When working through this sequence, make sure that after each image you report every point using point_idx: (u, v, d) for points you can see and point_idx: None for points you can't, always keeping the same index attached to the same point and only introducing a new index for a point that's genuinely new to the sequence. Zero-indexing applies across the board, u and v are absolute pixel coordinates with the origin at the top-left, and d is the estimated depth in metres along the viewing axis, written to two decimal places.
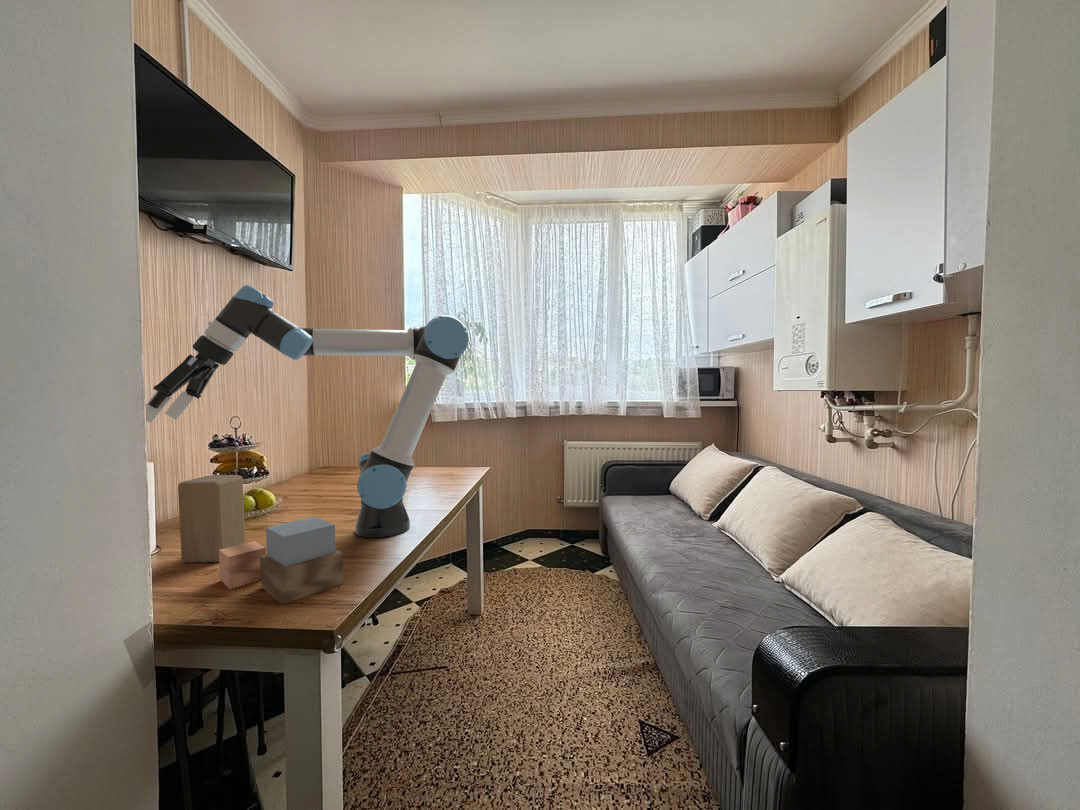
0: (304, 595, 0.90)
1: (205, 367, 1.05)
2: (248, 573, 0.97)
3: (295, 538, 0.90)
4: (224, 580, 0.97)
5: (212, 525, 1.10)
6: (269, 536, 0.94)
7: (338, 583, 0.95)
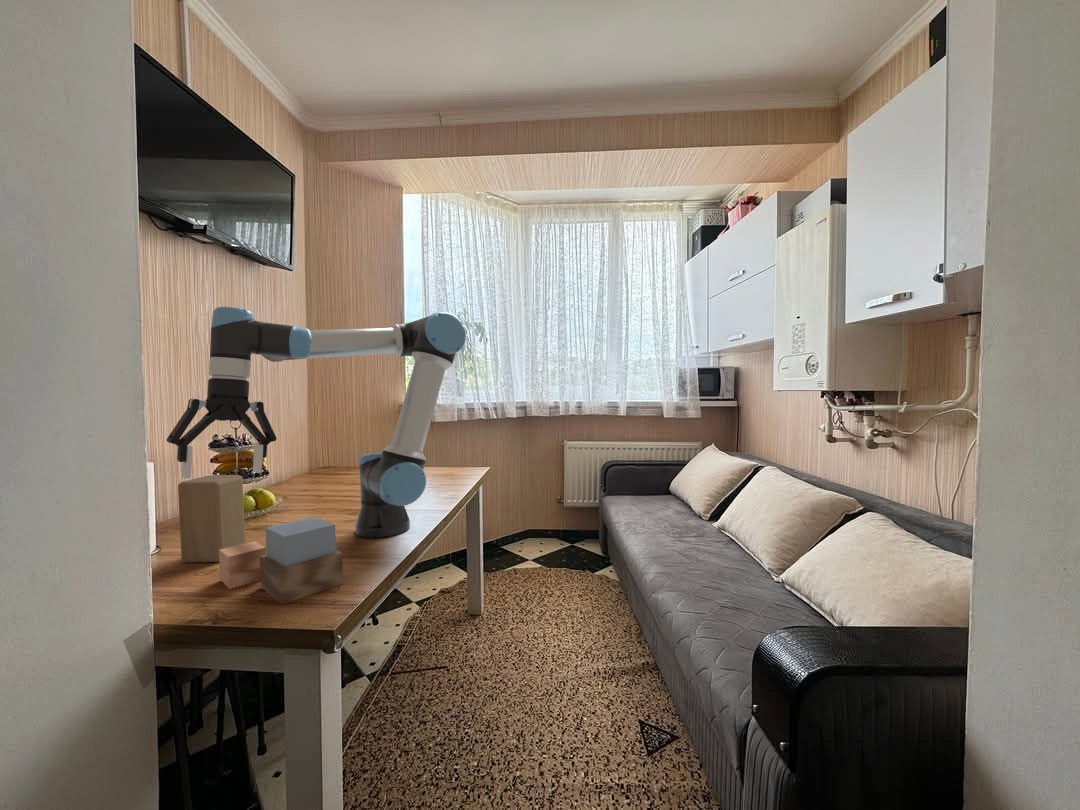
0: (304, 595, 0.90)
1: (221, 406, 0.97)
2: (248, 573, 0.97)
3: (296, 538, 0.90)
4: (224, 580, 0.97)
5: (212, 525, 1.10)
6: (269, 537, 0.94)
7: (338, 583, 0.95)
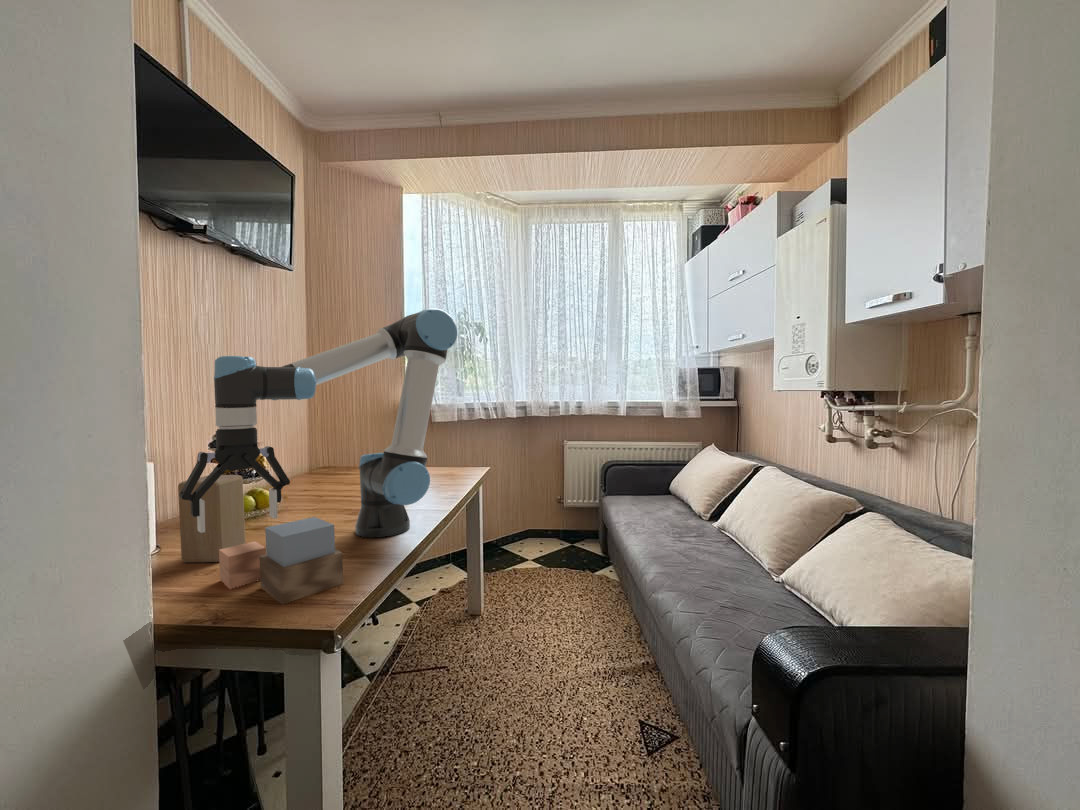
0: (304, 595, 0.90)
1: (229, 456, 0.96)
2: (248, 573, 0.97)
3: (295, 539, 0.90)
4: (224, 580, 0.97)
5: (212, 525, 1.10)
6: (268, 537, 0.94)
7: (338, 583, 0.95)
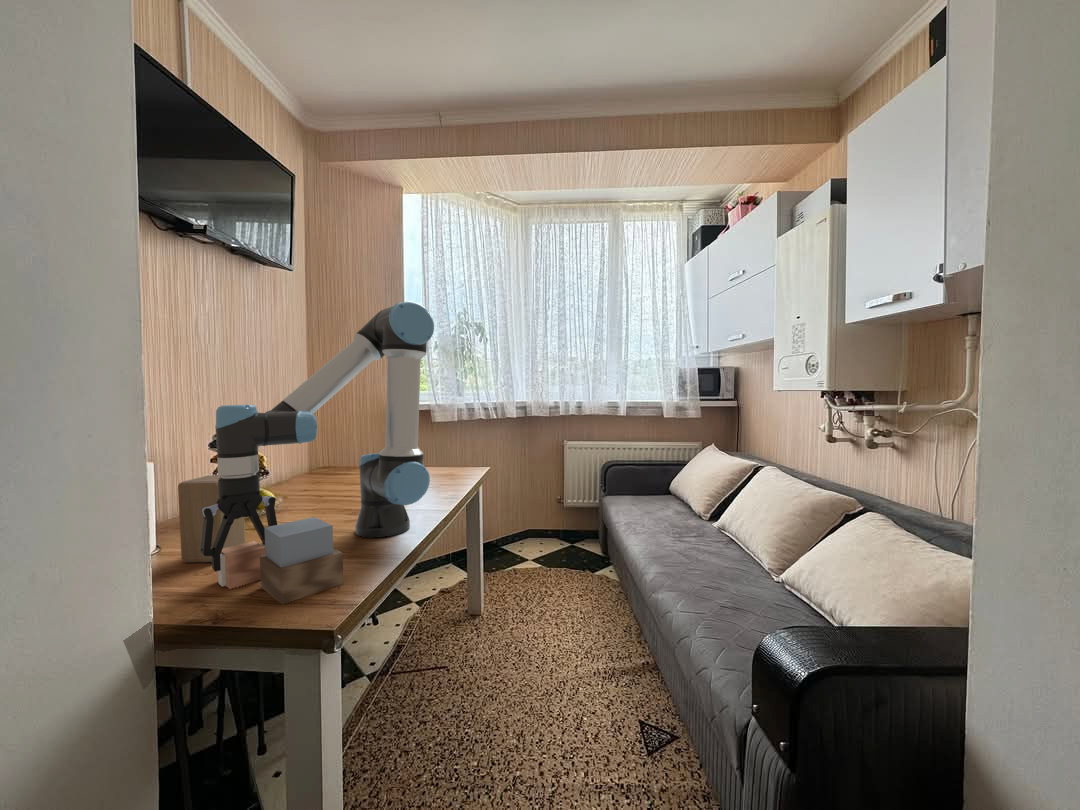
0: (304, 595, 0.90)
1: (232, 506, 0.97)
2: (247, 572, 0.97)
3: (292, 539, 0.90)
4: None
5: None
6: (267, 537, 0.94)
7: (338, 583, 0.95)
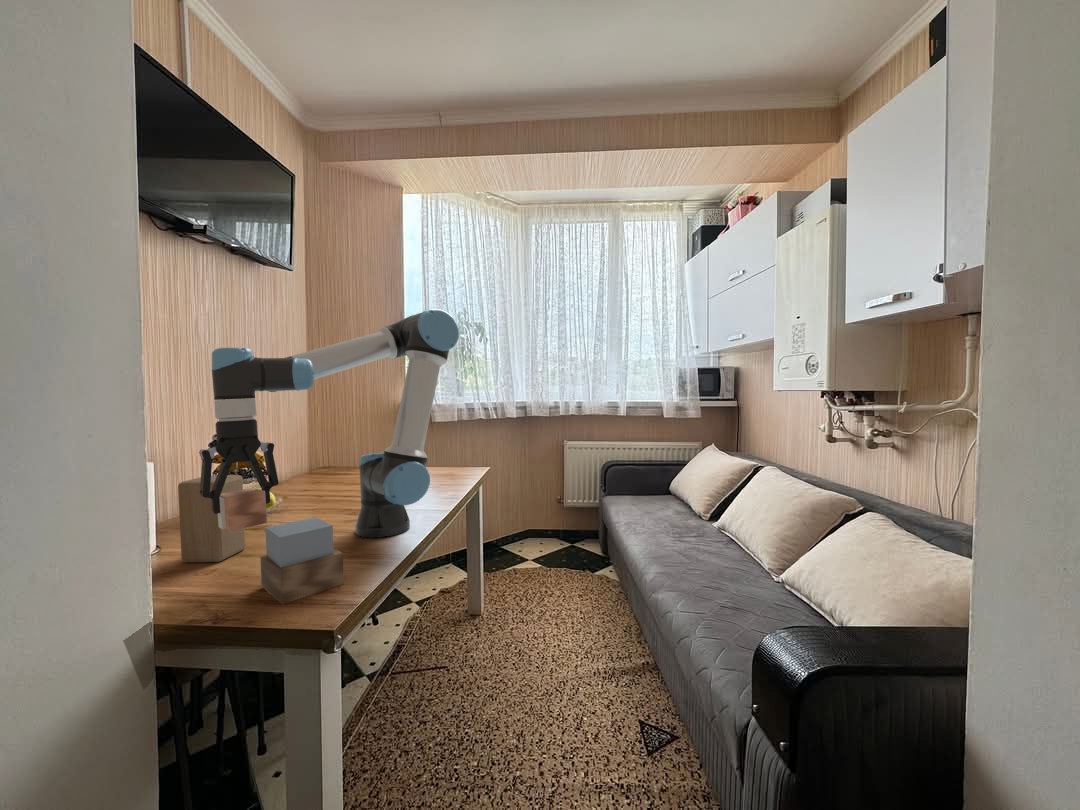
0: (304, 595, 0.90)
1: (230, 449, 0.97)
2: (247, 516, 0.97)
3: (292, 539, 0.90)
4: None
5: (212, 525, 1.10)
6: (268, 536, 0.94)
7: (338, 583, 0.95)
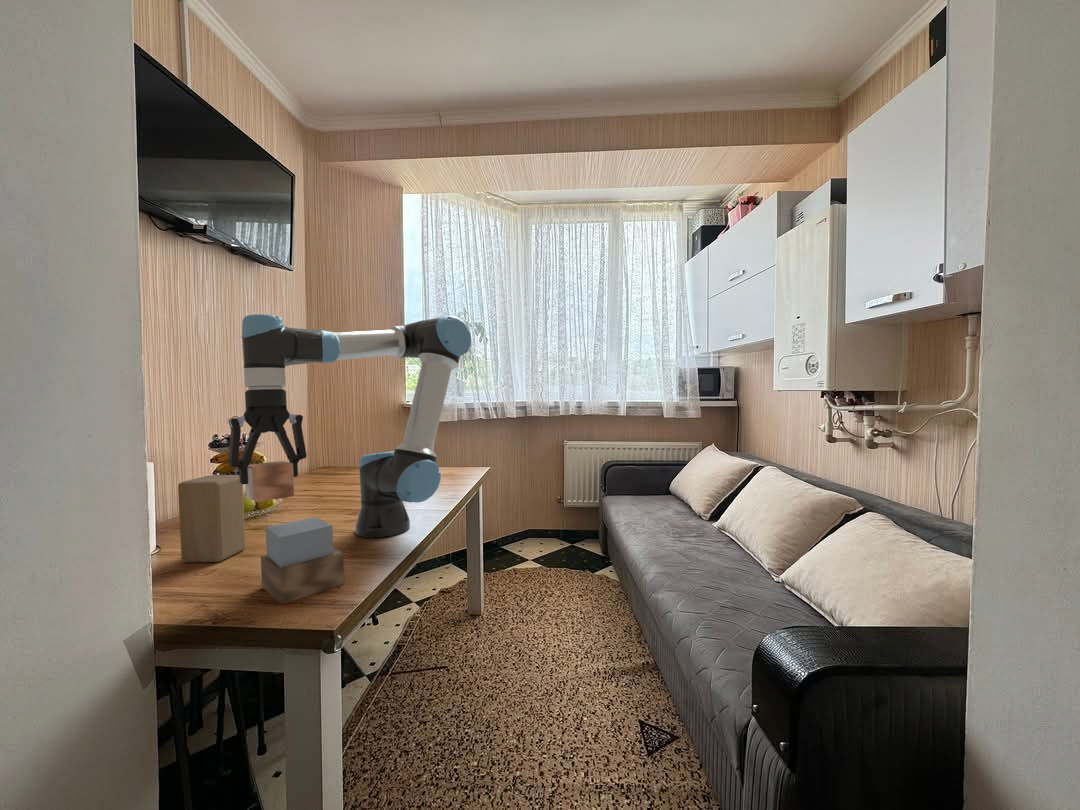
0: (304, 595, 0.90)
1: (259, 419, 0.94)
2: (274, 487, 0.95)
3: (291, 539, 0.90)
4: None
5: (212, 525, 1.10)
6: (268, 536, 0.94)
7: (338, 583, 0.95)
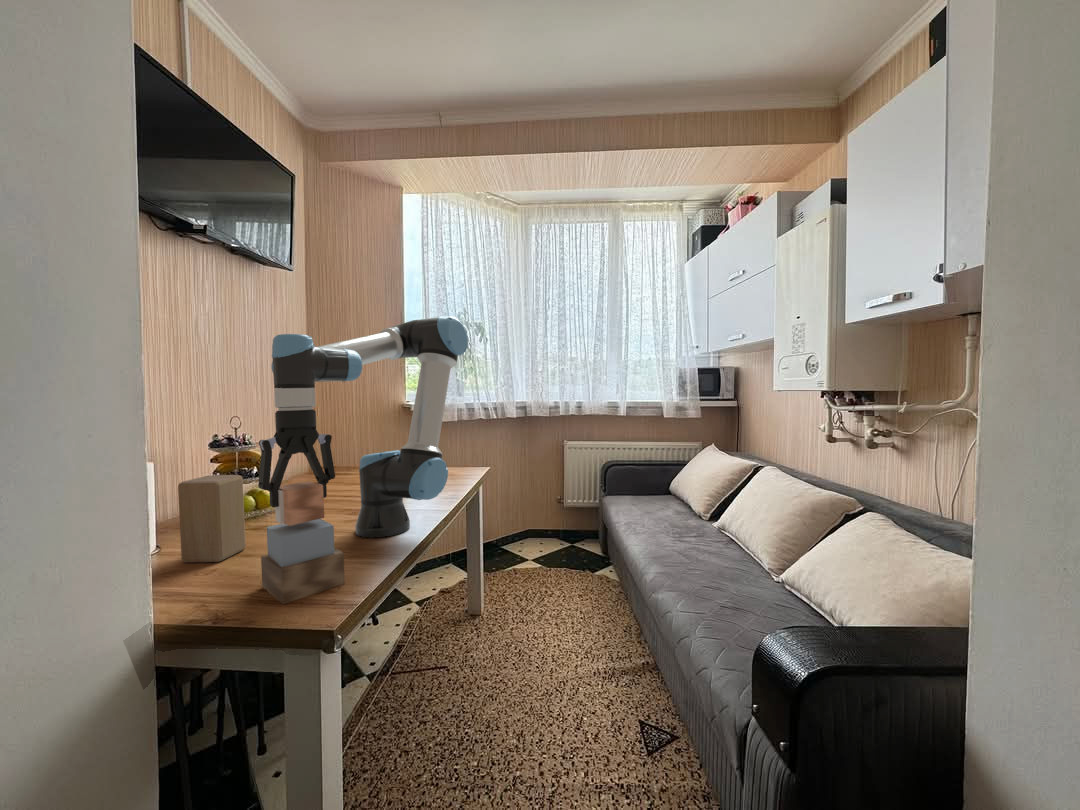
0: (305, 595, 0.90)
1: (290, 440, 0.92)
2: (306, 510, 0.93)
3: (293, 539, 0.90)
4: None
5: (212, 525, 1.10)
6: (269, 536, 0.94)
7: (339, 583, 0.95)
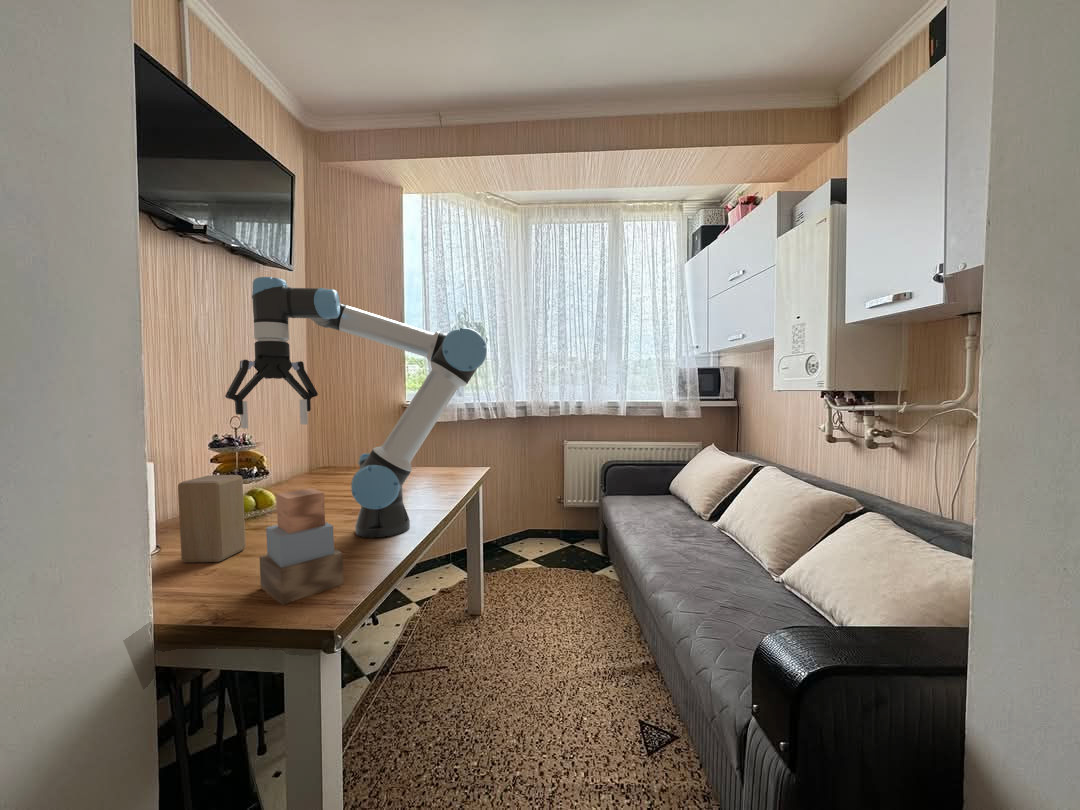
0: (304, 595, 0.90)
1: (267, 365, 1.11)
2: (306, 517, 0.93)
3: (292, 539, 0.90)
4: (282, 524, 0.93)
5: (212, 525, 1.10)
6: (268, 536, 0.94)
7: (338, 583, 0.95)
